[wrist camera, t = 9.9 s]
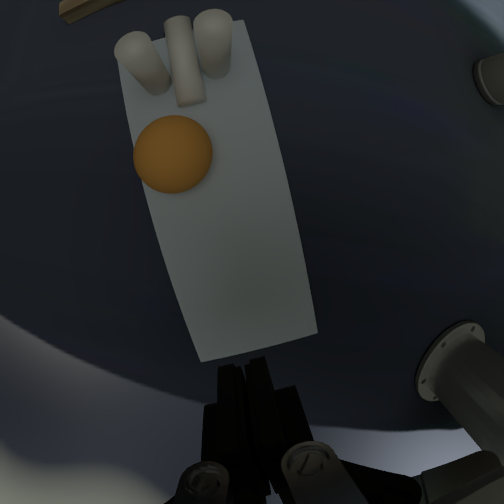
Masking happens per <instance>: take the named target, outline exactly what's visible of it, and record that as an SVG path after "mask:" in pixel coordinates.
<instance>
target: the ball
mask: <svg viewBox="0 0 504 504" xmlns="http://www.w3.org/2000/svg"><path fill="white" fill-rule="evenodd" d="M212 156H213V149H212V143H211V140H210V137H209V135H208V134H207V132H206V131H205V129H204V128H203V127H202V126H201V125H200V124H199V123H198V122H196V121H194V120H193V119H191V118H188V117H185V116H180V115H169V116H164V117H161V118H158V119H156V120H154V121H153V122H151V123H150V124H149V125H147V126H146V127H145V128H144V129H143V131H142V132H141V133H140V135H139V136H138V138H137V141H136V143H135V147H134V153H133V160H134V166H135V169H136V171H137V173H138V175H139V177H140V178H141V180H142V181H143V182H144V183H145V184H146V185H147V186H149V187H150V188H152V189H154V190H156V191H158V192H162V193H167V194H176V193H181V192H185V191H187V190H189V189H191V188H193V187H194V186H196V185H197V184H198V183H199V182H201V180H202V179H203V178H204V177H205V176H206V174H207V172H208V170H209V168H210V166H211V162H212Z"/></svg>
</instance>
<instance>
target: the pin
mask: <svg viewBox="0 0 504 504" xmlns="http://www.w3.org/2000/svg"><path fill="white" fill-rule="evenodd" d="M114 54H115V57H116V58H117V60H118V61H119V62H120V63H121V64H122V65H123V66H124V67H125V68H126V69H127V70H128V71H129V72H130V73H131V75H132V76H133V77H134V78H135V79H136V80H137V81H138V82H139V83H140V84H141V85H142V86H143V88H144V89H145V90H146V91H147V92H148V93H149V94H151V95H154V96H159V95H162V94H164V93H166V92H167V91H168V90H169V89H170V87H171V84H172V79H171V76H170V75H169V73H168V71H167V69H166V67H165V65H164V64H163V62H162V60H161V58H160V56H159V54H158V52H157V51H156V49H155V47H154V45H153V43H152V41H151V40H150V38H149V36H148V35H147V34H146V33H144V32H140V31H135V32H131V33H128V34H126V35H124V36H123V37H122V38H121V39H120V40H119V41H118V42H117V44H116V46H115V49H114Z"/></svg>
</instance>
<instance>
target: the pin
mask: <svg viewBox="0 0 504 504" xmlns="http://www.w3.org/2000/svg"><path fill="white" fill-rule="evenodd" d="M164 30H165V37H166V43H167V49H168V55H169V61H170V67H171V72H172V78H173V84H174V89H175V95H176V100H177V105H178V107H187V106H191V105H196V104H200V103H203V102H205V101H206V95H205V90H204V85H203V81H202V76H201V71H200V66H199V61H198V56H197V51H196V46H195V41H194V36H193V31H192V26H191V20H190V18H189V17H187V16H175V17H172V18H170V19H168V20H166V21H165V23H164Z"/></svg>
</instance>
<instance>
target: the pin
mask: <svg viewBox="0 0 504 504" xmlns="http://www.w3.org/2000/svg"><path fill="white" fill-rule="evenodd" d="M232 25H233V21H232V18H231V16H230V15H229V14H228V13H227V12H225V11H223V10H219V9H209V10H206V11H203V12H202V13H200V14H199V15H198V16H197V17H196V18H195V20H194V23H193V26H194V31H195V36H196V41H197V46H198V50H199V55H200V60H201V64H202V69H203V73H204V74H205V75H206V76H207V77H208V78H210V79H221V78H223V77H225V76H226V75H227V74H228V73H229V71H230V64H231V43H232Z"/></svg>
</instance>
